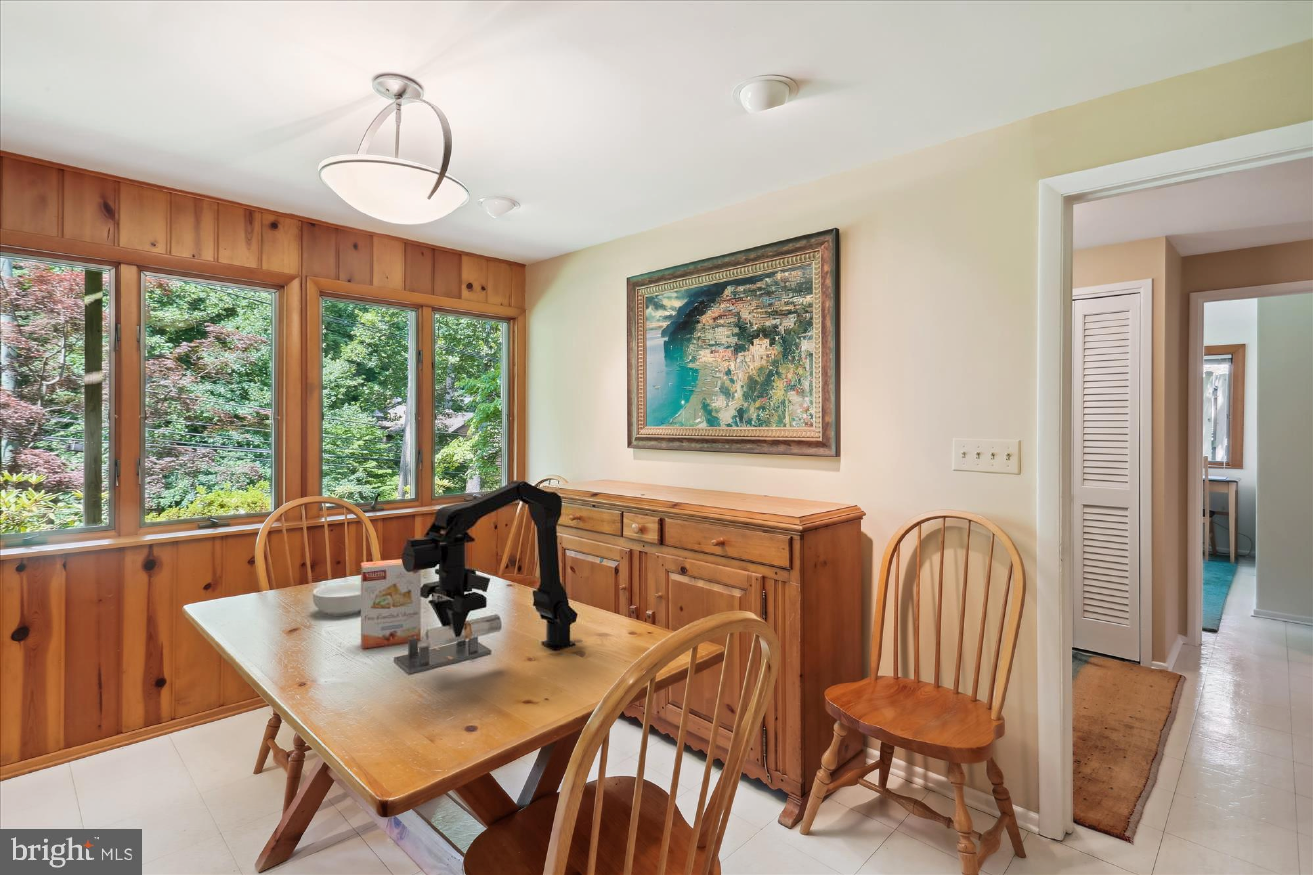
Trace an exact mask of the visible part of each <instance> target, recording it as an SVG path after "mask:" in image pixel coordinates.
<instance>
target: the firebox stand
mask: <svg viewBox="0 0 1313 875" xmlns="http://www.w3.org/2000/svg"><path fill="white" fill-rule="evenodd" d="M488 655H492V649H490V648H489V647H487V646H485V645H484V644H482V643H481V642H479V637H475V638H471V639H467V640H463V641H458V642H454V643H450V644H446V645H442V646H438V647H434V648H429V647H428V645H427V644H426V645H422V646H419V641H418V638H417V637H415V638H411V639H408V642H407V654H404V655H398V656H394V657H393V662H394V664H396V665H397V666H398V667H399V668H400V669H401V670H402V671H404V672H405V673H406V674H407V675H413V674H417V673H420V672H424V671H429V670H433V669H437V668H440V667H445V666H448V665H452V664H456V663H460V662H465V661H468V660H472V659H477V658H481V657H484V656H488Z"/></svg>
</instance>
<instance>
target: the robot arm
mask: <svg viewBox="0 0 1313 875" xmlns="http://www.w3.org/2000/svg"><path fill="white" fill-rule="evenodd" d="M517 501H520V502H521V503H522V504H525V505H527V506H528V511H529V515H530V518H531V519H532V522H533V523H534V525H535V527H536V539H537V550H538V551H537V553H538V566H539V577H540V578H539V579H540V582H539V585H538V588H537V589H534V590H532V598H533V602H532V606H533V607H534V608H535V611H536V612H537V613H539V616H540V619H541V620H543V621H546V625H545V626H546V627H545V629H546V632H545V633H546V637H545V638H546V640H543V641H541V642H540V643H541V645H543V646H544V647H547V648H548V649H550V650H552V651H557V650H562V649H565V648H569V647H573V646H575V645H576V642H575V641H573V640H572V639H571V625H572V624H574V623H576V622H577V619H578V616H579V615H578V613H577V612H576V611H575V609H574V608H572V607H571V606H570V601H569V598H568V594H567V591H566V589H565V588H564V587H565V586H564V585H563V584H562V582H561V575H560V573H561V572H560V558H559V542H558V531H557V530H558V529H557V527H558V523H559V521H560V519H561V516H562V510H563V509H562V508H563V507H562V506H563V500H562V497H561V495H559V493H557V492H555V491H549V490H544V489H542V488H540V487H538V486H534V485H532V484H530V482H529V483H528V481H525V480H523V481H522V480H518V479H517V480H516V479H515V480H512V481H510V482H509V483H507V484H506V485H503V486H501V487H499V488H497V489H494V490H492V491H489V492H488V493H486V494H483V495H480V496H479V497H477V498H475V499H473V500H470V501H466V502H459V503H458V502H457V503H454V504H449V505H445V506H442V507H440V508H438V510H437V511H436V512H435V516H434V518H433V522H432V523H431V525H429V526H428V527H429V528H428V529H427V531H426V532H425V534H424V536H423V537H421V538H420V537H419V538H407V539H406V544H405V545H404V548H403V550H402V553H401V559H402V563H403V566H404V569H405V570H406V571H407V572H413V571H418V570H421V571H425V570H429V569H434V568H435V569H434V574H435V575H437V576H438V580H437V581H432V582H426V583H423V584H422V585H421V588H420V596H421V598H423V599H425V600H426V599H429V598H430V597H431V599H429V600H428V602H427V603H428V604H430V606H431V608H432V610H433V611H434V612H433V613H435V615H436V617H437V619H438V622H440V624H441V626H445V625H450V624H451V625H452V628H453V631H454V634H455V637H459V636H461V633H462V630H463V627H464V624H465V621H467V618H468V616H469V614H470V612H473V611H478V610H482V609H486V608H487V606H488V605H487V602H488V600H487V597H486V596H485V594H482V593H479V592H476V591H473V590H478V591H481V592H484V593H487V592H488V588H489V585H490V582H491V578H490V577H486V576H483V575H480V574H477V571H476V569H475V568H470V567H467V554H466V552H467V551H466V550H467V545H466V544H467V543H473V542H476V539H475V538H474V537H473V536H472V535H470V533H469V532H468V531H469V530H471V529H472V528H473V527H475V526H476V525H477V523H478V522H479V521H480V520H481V519H482V518H484V517H486V516H488V515H490V514H492V513H494V512H496V511H498V510H500V509H503V508H505V507H507V506H509V505H511V504H512V503H515V502H517ZM437 567H438V568H437Z"/></svg>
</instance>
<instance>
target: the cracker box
mask: <svg viewBox="0 0 1313 875" xmlns="http://www.w3.org/2000/svg"><path fill="white" fill-rule="evenodd" d="M360 583H361V610H360V643H361V649H363V650H365V649H371V648H377V647H378V648H379V647H384V646H393V645H397V644H398V645H399V644H406V643H407V644H408V639H411V638H415V637H417V638H418V642H419V641H421V637H422V636H421V634H422V633H421V629H422V628H421V627H422V626H421V623H422V622H421V620H422V617H421V615H422V612H421V610H422V607H421V606H422V597H421V596H420V588H421V587H422V570H418V571H413V572H407V571H406V570H405V569H404V566H403V563H402V558H400V559H399V558H398V559H390V560H389V559H387V560H376V561H365V562H363V561H362V562H361V563H360Z"/></svg>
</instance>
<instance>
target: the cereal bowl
mask: <svg viewBox="0 0 1313 875" xmlns="http://www.w3.org/2000/svg"><path fill="white" fill-rule="evenodd" d="M312 601H313V605H314V606H315V607H316V608H317V609H318V610H319V611H320V612H324V613H327V614H329V615H330V616H333V617H344V616H350V615H354V614H357V613H359V611H361V582H356V581H355V582H341V583H340V582H339V583H332V584H327V585H323V586H319V587H318V588H317V587H316V588H315V589H314V590H313V591H312Z"/></svg>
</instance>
